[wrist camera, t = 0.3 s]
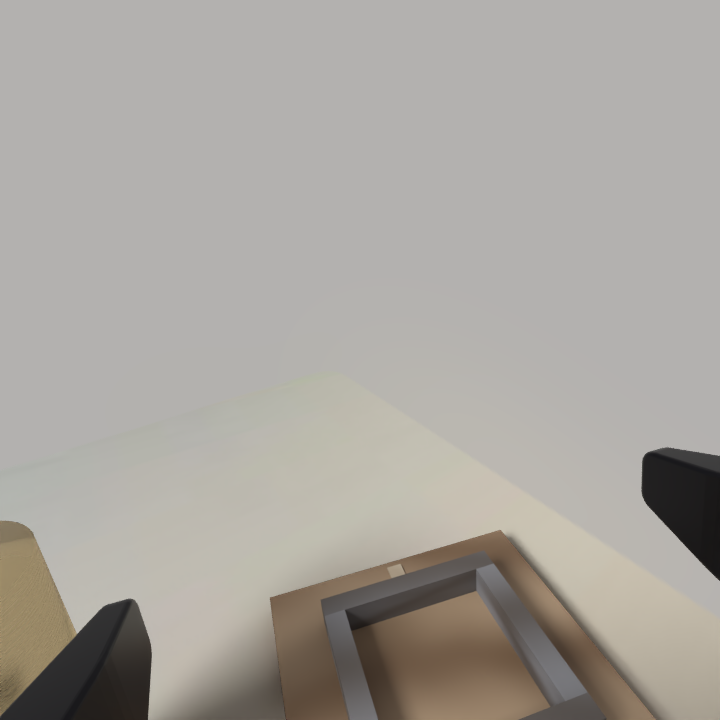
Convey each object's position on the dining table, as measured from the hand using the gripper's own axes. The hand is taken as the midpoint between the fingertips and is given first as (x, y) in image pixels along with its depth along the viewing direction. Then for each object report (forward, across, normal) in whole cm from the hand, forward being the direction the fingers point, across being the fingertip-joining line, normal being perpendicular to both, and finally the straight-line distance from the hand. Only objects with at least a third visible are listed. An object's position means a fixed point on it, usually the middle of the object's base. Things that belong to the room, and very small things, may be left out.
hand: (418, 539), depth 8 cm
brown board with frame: (+9, -3, +16) cm, 18 cm away
